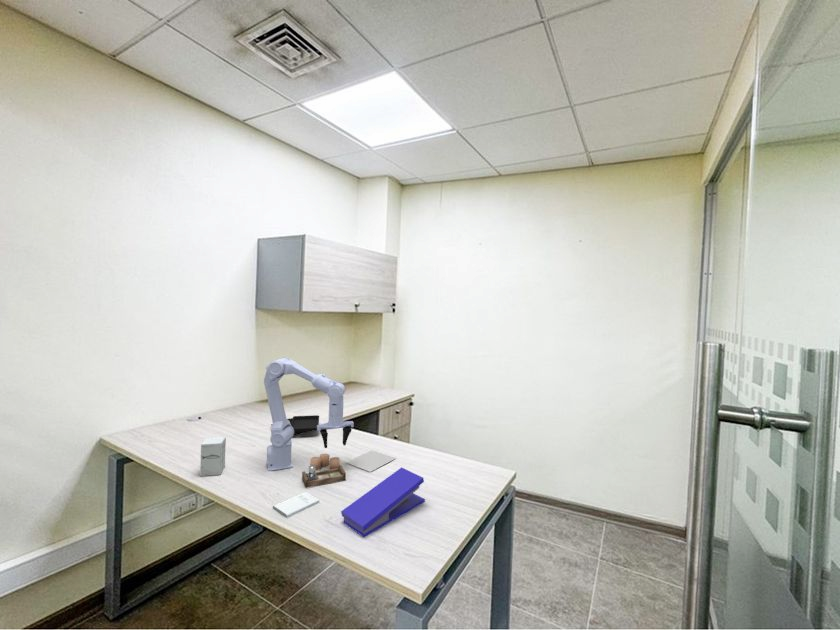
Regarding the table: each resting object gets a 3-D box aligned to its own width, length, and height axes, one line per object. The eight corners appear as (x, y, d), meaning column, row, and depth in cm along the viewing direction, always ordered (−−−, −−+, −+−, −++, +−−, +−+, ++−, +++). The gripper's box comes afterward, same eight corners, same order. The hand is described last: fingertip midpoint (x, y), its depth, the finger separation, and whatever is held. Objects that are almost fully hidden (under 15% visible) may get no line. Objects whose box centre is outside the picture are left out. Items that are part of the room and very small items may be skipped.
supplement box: (199, 477, 141) (200, 444, 141) (205, 468, 148) (205, 437, 148) (221, 475, 143) (221, 442, 143) (225, 466, 150) (226, 436, 150)
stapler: (426, 503, 130) (427, 475, 129) (363, 540, 109) (365, 507, 108) (402, 491, 137) (403, 465, 137) (339, 523, 116) (340, 492, 116)
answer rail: (305, 488, 136) (305, 479, 136) (302, 479, 142) (302, 471, 142) (345, 480, 143) (345, 472, 143) (340, 472, 149) (341, 465, 149)
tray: (262, 430, 193) (262, 420, 193) (297, 419, 213) (298, 410, 213) (302, 443, 178) (302, 432, 177) (336, 430, 197) (337, 420, 197)
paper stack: (413, 465, 159) (413, 464, 159) (374, 489, 138) (374, 487, 138) (372, 451, 172) (372, 450, 172) (330, 470, 151) (330, 469, 151)
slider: (308, 482, 138) (309, 470, 137) (306, 476, 142) (306, 464, 142) (317, 480, 139) (318, 468, 139) (314, 474, 144) (315, 463, 143)
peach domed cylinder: (330, 471, 150) (330, 461, 150) (328, 467, 153) (328, 457, 153) (340, 469, 152) (340, 460, 151) (337, 465, 155) (338, 456, 155)
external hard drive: (272, 510, 122) (305, 495, 132) (286, 519, 117) (319, 503, 127) (272, 505, 122) (305, 491, 132) (287, 514, 117) (319, 499, 127)
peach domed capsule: (311, 471, 149) (311, 461, 149) (309, 467, 153) (309, 457, 153) (321, 469, 151) (321, 460, 151) (319, 465, 155) (319, 456, 155)
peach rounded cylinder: (320, 467, 153) (320, 458, 153) (318, 463, 156) (318, 454, 156) (330, 466, 155) (330, 456, 155) (327, 462, 158) (328, 452, 158)
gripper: (320, 417, 145) (319, 452, 145) (356, 414, 151) (355, 446, 152) (316, 412, 151) (315, 445, 152) (351, 409, 158) (350, 440, 158)
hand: (334, 445), depth 152 cm, fingers open, 7 cm apart
